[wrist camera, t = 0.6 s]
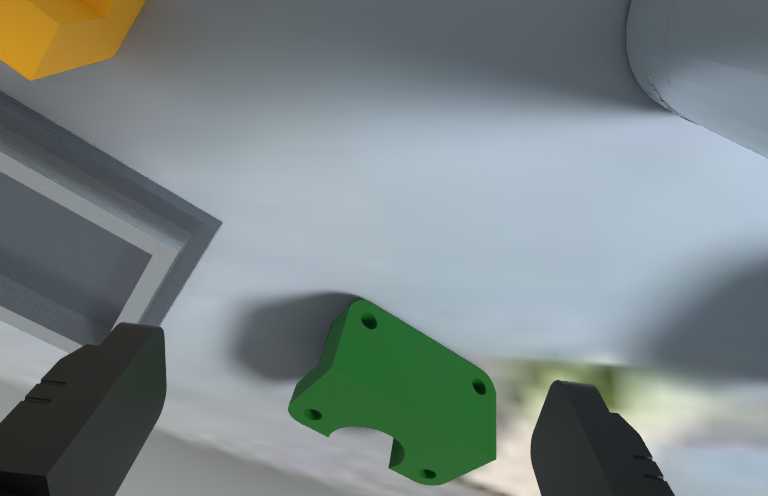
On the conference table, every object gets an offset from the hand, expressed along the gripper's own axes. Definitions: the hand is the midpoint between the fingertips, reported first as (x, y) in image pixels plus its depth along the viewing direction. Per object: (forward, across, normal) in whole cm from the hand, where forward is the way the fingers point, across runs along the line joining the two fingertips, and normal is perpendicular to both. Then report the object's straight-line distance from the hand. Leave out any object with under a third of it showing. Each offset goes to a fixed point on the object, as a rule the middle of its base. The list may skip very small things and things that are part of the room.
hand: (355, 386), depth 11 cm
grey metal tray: (+18, +20, +6) cm, 27 cm away
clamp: (+19, -3, +14) cm, 24 cm away
